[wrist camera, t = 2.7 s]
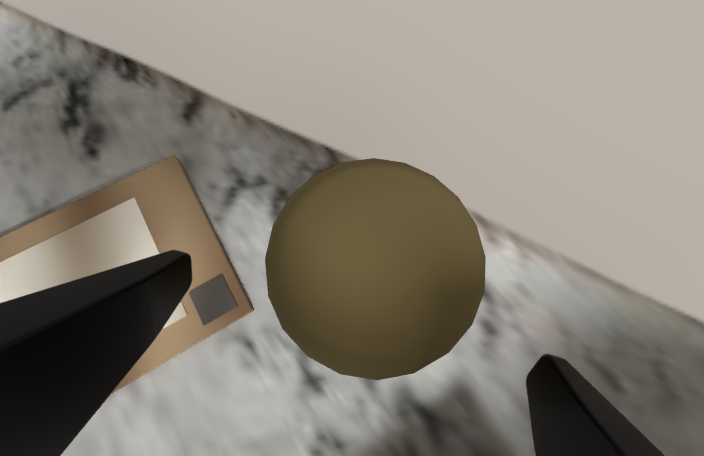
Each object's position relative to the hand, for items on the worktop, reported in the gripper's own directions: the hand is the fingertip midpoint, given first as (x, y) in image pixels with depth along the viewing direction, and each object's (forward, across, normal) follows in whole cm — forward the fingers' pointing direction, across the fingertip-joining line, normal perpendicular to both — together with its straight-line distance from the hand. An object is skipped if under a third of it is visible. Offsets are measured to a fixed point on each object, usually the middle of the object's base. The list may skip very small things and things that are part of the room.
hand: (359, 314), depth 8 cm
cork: (+7, 0, +6) cm, 9 cm away
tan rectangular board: (+5, +13, +8) cm, 16 cm away
